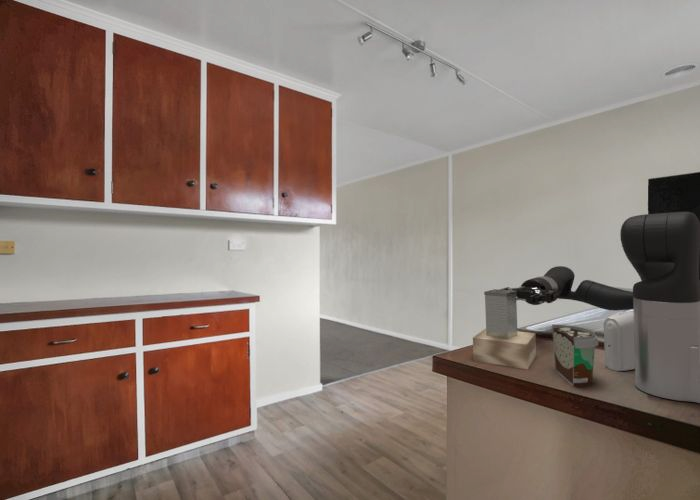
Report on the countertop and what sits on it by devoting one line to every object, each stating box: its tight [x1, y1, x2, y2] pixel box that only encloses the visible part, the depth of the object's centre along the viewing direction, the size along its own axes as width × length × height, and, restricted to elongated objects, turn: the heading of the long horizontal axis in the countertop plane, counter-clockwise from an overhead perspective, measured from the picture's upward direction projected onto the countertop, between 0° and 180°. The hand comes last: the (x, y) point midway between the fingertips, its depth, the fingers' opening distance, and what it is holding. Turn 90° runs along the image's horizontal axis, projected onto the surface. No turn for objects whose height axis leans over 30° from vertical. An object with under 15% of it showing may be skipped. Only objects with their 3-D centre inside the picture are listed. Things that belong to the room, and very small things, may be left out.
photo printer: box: [603, 311, 635, 372], centre depth 78 cm, size 10×4×12 cm, turn 105°
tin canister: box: [483, 288, 518, 339], centre depth 86 cm, size 6×6×11 cm
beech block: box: [472, 327, 537, 370], centre depth 86 cm, size 12×12×6 cm
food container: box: [551, 324, 599, 388], centre depth 72 cm, size 12×6×10 cm, turn 168°
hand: (514, 298), depth 92 cm, fingers open, 8 cm apart
